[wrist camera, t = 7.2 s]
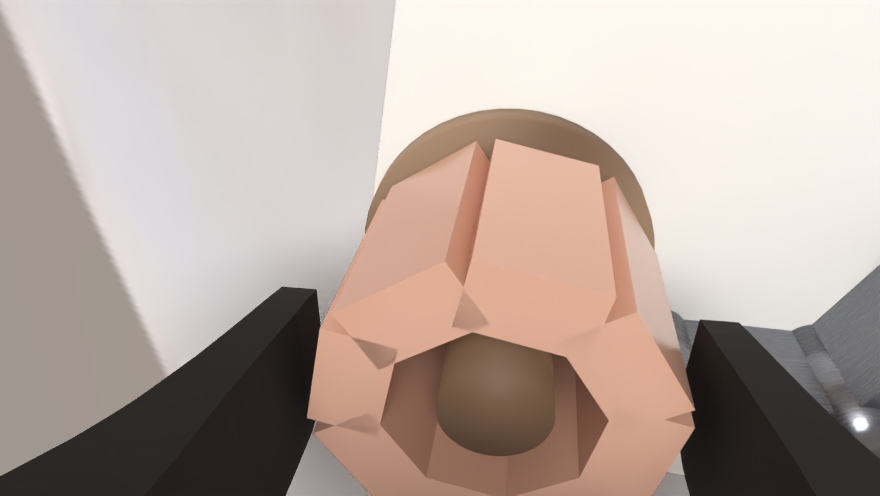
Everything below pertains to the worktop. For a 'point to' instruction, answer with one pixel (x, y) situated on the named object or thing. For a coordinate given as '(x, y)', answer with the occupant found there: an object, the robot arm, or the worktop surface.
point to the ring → (503, 331)
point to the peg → (486, 358)
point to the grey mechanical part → (829, 357)
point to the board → (685, 128)
